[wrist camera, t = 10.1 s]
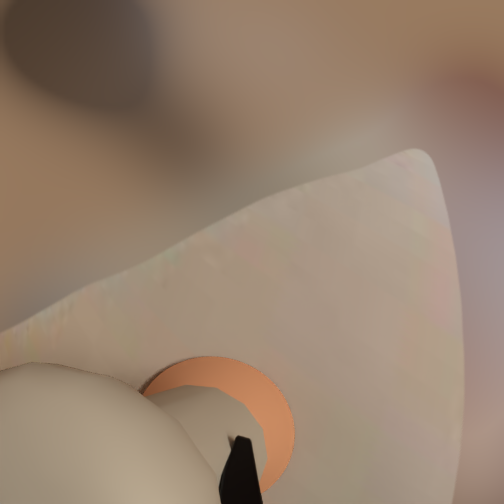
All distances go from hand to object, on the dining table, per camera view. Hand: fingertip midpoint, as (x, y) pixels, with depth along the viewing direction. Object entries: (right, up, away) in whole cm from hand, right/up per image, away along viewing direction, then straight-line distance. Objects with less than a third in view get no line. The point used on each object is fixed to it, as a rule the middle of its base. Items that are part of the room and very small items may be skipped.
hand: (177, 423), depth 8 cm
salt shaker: (0, -5, +5) cm, 7 cm away
